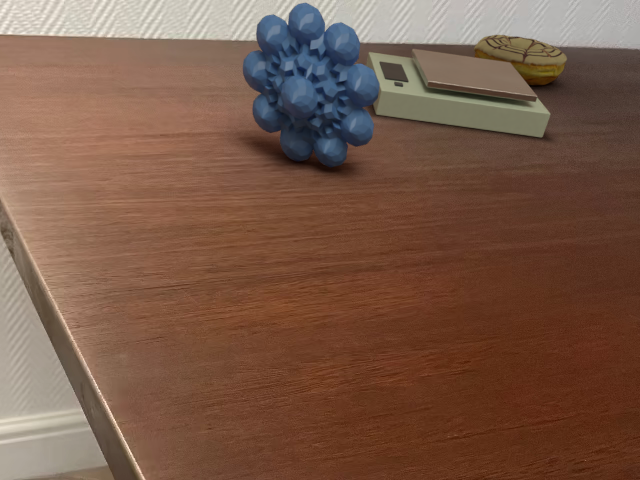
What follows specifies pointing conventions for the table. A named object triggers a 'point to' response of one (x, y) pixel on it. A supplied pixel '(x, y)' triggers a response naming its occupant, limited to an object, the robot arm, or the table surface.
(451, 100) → the scale
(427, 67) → the scale pan
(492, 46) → the decorated donut
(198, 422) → the table surface
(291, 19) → the blue knobbed flower
